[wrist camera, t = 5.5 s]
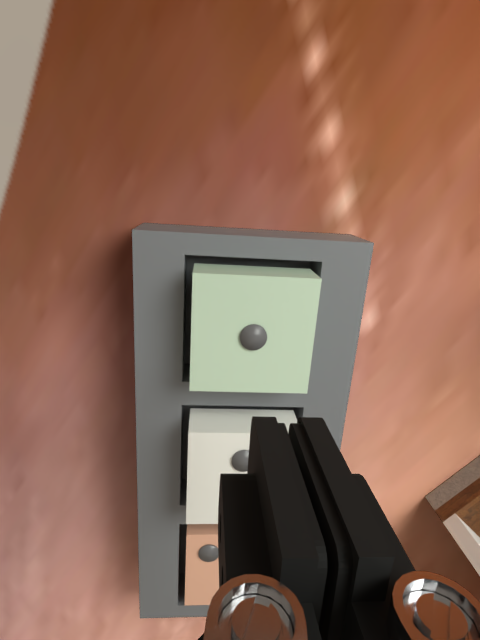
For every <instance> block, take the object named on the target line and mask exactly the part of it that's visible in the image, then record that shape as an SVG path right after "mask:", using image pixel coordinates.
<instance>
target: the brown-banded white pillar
mask: <svg viewBox="0 0 480 640" xmlns="http://www.w3.org/2000/svg"><path fill="white" fill-rule="evenodd" d="M425 497H426V499H427V500H428V502H429V503H430V505H431V506H432V507H433V509H434V510H435V512H436V513H437V515H438V516H439V518H440V519H441V521H442V522H443V523H444V525H445V526H446V528H447V529H448V531H449V532H450V534H451V535H452V537H453V538H454V539H455V541H456V542H457V544H458V545H459V547H460V548H461V550H462V551H463V553H464V554H465V555H466V557H467V558H468V560H469V561H470V563H471V564H472V566H473V567H474V569H475V570H476V571H477V573H478V574H479V576H480V456H479V457H477V458H476V459H475V460H473V461H472V462H471V463H469V464H468V465H467V466H465V467H464V468H463V469H461V470H460V471H459V472H457V473H456V474H455V475H453V476H452V477H451V478H449V479H448V480H447V481H445V482H444V483H442V484H441V485H440V486H438V487H437V488H436V489H434V490H433V491H432V492H430V493H429V494H428V495H426V496H425Z"/></svg>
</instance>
